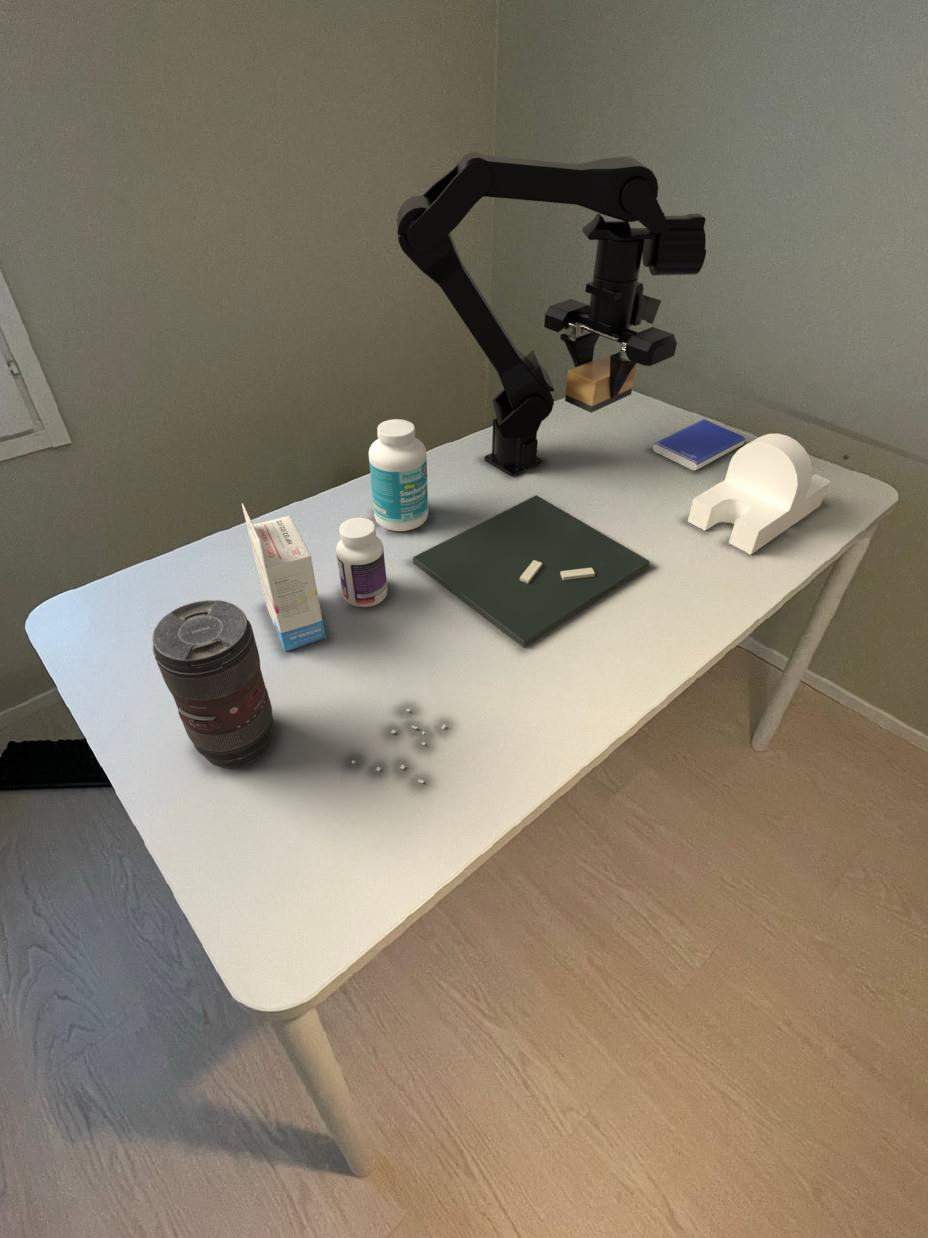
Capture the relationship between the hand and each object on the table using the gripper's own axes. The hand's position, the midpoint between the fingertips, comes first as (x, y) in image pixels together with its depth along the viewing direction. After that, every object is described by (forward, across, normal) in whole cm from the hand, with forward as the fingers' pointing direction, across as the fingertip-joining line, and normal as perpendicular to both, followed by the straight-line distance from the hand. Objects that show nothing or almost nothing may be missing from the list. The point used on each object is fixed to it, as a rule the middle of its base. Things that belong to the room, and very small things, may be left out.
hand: (599, 391), depth 101 cm
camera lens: (+11, -12, +67) cm, 69 cm away
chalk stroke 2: (+10, -18, +24) cm, 32 cm away
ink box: (+11, -2, +54) cm, 55 cm away
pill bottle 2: (+11, +7, +32) cm, 34 cm away
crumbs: (+11, -24, +55) cm, 61 cm away
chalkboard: (+11, -12, +26) cm, 31 cm away
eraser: (+1, 0, 0) cm, 1 cm away
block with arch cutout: (+11, -25, -6) cm, 28 cm away
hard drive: (+11, -9, -15) cm, 21 cm away
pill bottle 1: (+11, -3, +45) cm, 46 cm away
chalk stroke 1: (+10, -14, +28) cm, 33 cm away
